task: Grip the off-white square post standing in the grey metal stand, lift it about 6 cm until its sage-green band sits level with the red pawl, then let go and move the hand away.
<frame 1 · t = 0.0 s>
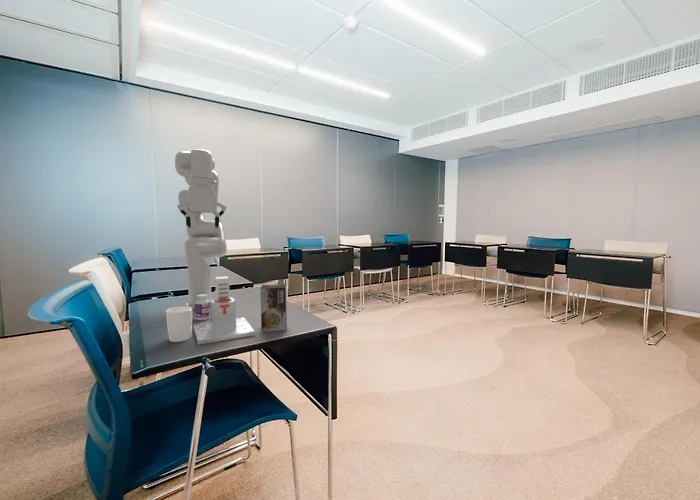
hand: (203, 227, 125), 37 cm above the table, tool pointing down, fingers open, 9 cm apart
white cup: (180, 339, 107), on the table
column: (222, 302, 113), point 11 cm above the table, slide at 0.0 cm
pill bottle: (202, 319, 129), on the table
stand: (223, 331, 114), on the table
coffee box: (274, 329, 118), on the table
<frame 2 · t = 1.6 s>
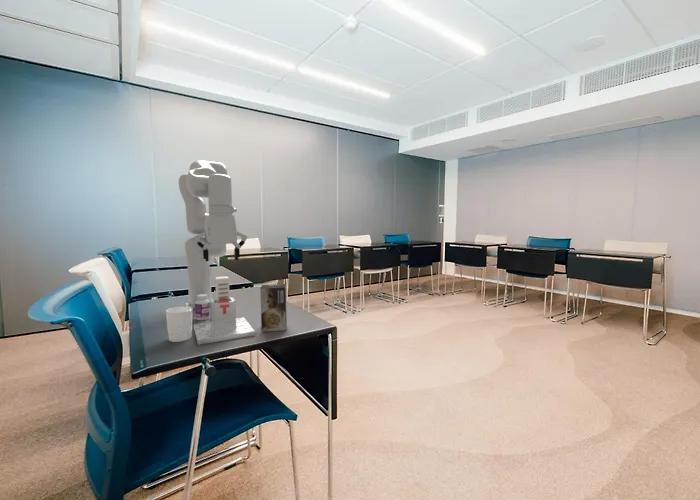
hand: (221, 260, 112), 26 cm above the table, tool pointing down, fingers open, 9 cm apart
nothing on the table moved.
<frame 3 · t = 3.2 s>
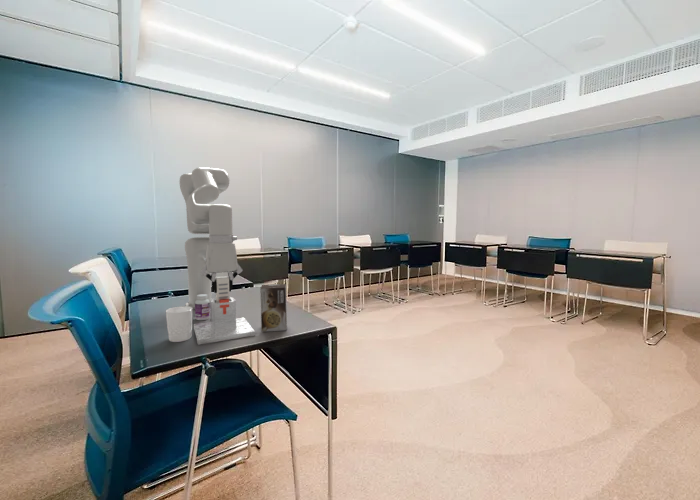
hand: (222, 291, 113), 15 cm above the table, tool pointing down, fingers closed on column, 4 cm apart
column: (222, 302, 113), point 11 cm above the table, slide at 0.0 cm, touching gripper
everything else where it was.
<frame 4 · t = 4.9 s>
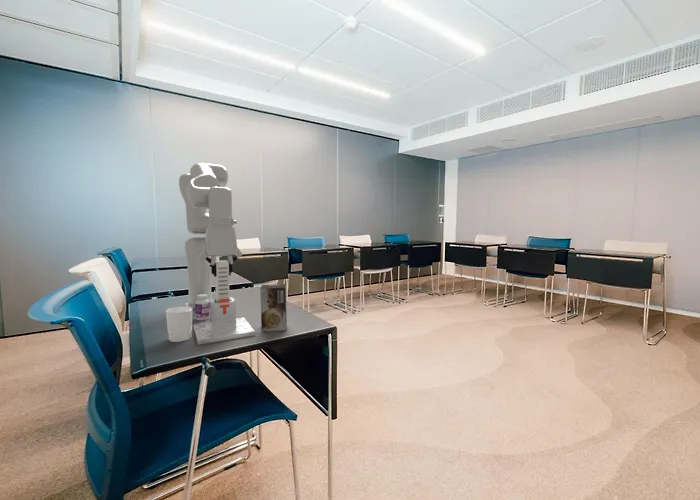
hand: (222, 274, 112), 21 cm above the table, tool pointing down, fingers closed on column, 4 cm apart
column: (222, 286, 113), point 16 cm above the table, slide at 5.8 cm, touching gripper
everything else where it was.
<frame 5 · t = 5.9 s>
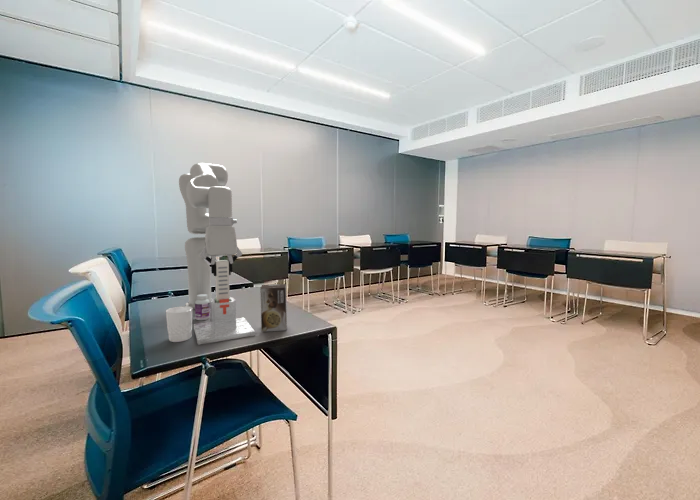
hand: (222, 274, 112), 21 cm above the table, tool pointing down, fingers closed on column, 4 cm apart
column: (222, 286, 113), point 17 cm above the table, slide at 5.9 cm, touching gripper
everything else where it was.
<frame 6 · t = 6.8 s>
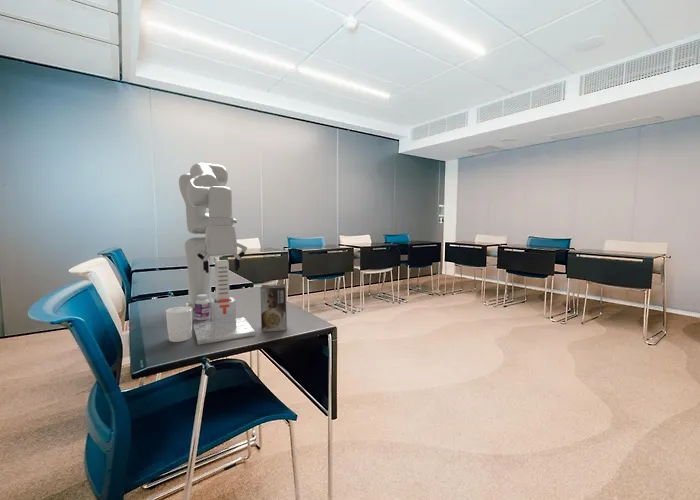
hand: (221, 271, 112), 22 cm above the table, tool pointing down, fingers open, 9 cm apart
column: (222, 286, 113), point 17 cm above the table, slide at 5.9 cm
everything else where it was.
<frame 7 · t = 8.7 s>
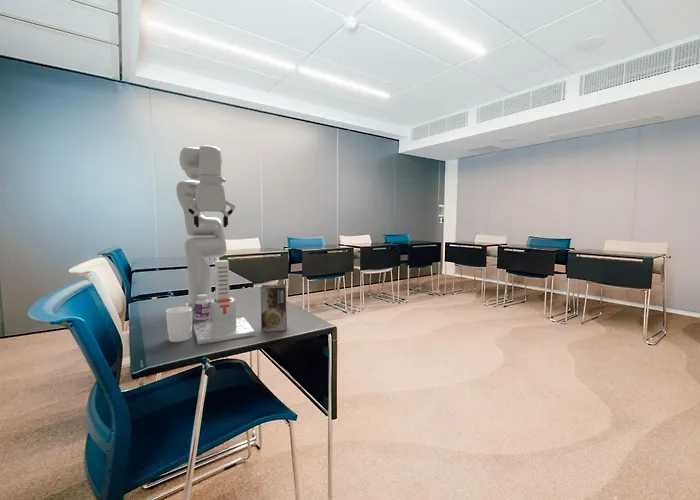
hand: (211, 227, 121), 37 cm above the table, tool pointing down, fingers open, 9 cm apart
nothing on the table moved.
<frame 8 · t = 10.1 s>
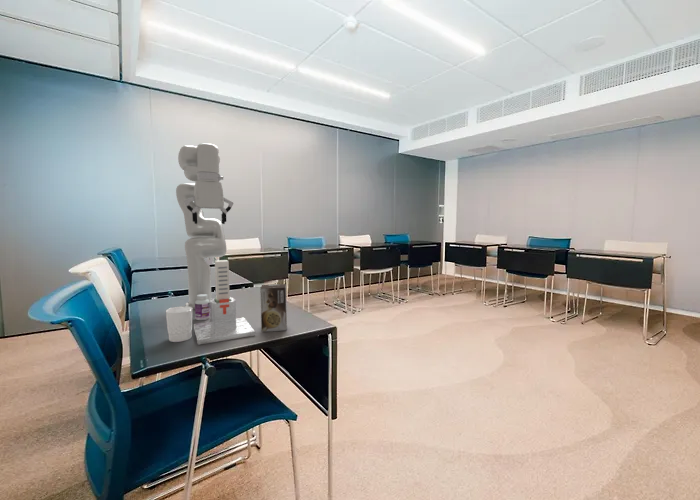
hand: (209, 223, 122), 38 cm above the table, tool pointing down, fingers open, 9 cm apart
nothing on the table moved.
at the end: column slide at 5.9 cm; the gripper is holding nothing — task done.
